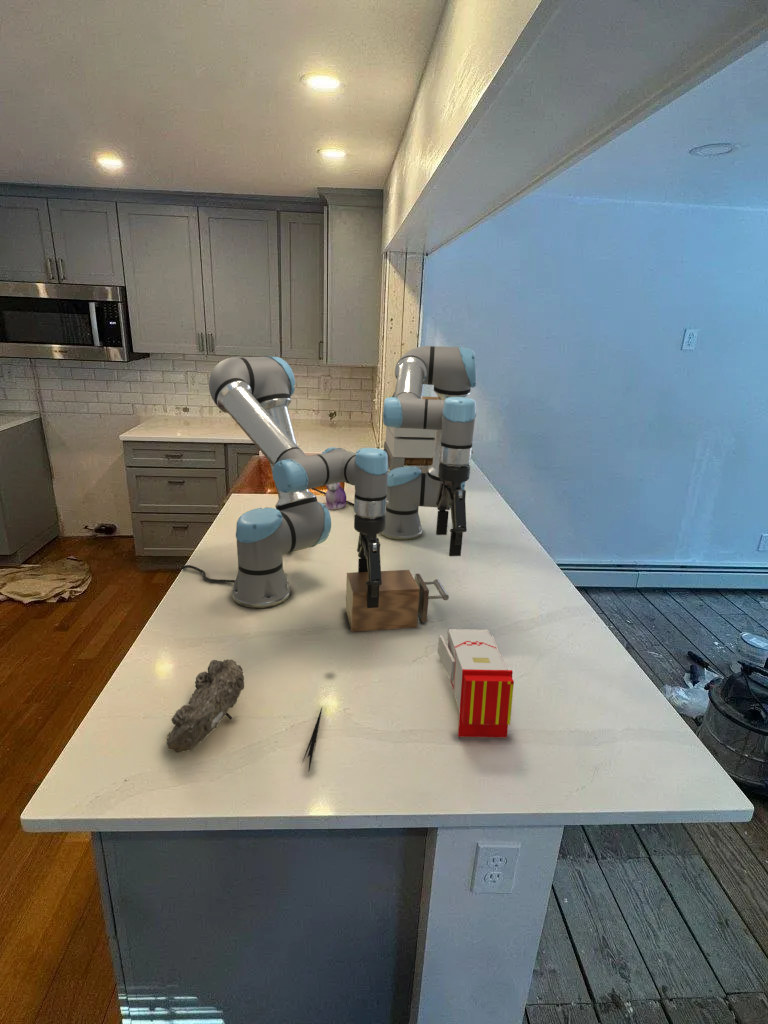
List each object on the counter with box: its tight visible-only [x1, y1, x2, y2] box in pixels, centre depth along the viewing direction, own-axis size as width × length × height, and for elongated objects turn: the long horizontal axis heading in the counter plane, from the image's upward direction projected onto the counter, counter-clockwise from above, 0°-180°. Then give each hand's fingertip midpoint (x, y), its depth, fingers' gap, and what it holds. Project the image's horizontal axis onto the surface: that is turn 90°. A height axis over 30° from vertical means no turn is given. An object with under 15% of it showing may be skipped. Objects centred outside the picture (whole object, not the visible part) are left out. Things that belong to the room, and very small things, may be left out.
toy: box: [437, 628, 515, 738], centre depth 117 cm, size 12×13×30 cm
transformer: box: [383, 391, 438, 472], centre depth 268 cm, size 34×33×41 cm
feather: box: [301, 673, 332, 771], centre depth 108 cm, size 2×28×2 cm
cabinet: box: [345, 569, 419, 633], centre depth 143 cm, size 16×11×11 cm, turn 101°
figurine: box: [325, 482, 347, 510], centre depth 222 cm, size 9×10×15 cm
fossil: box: [166, 658, 245, 754], centre depth 106 cm, size 22×10×15 cm
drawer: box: [414, 573, 450, 623], centre depth 144 cm, size 21×9×9 cm, turn 101°
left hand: (367, 594), depth 142 cm, fingers open, 13 cm apart
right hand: (447, 544), depth 143 cm, fingers open, 13 cm apart
